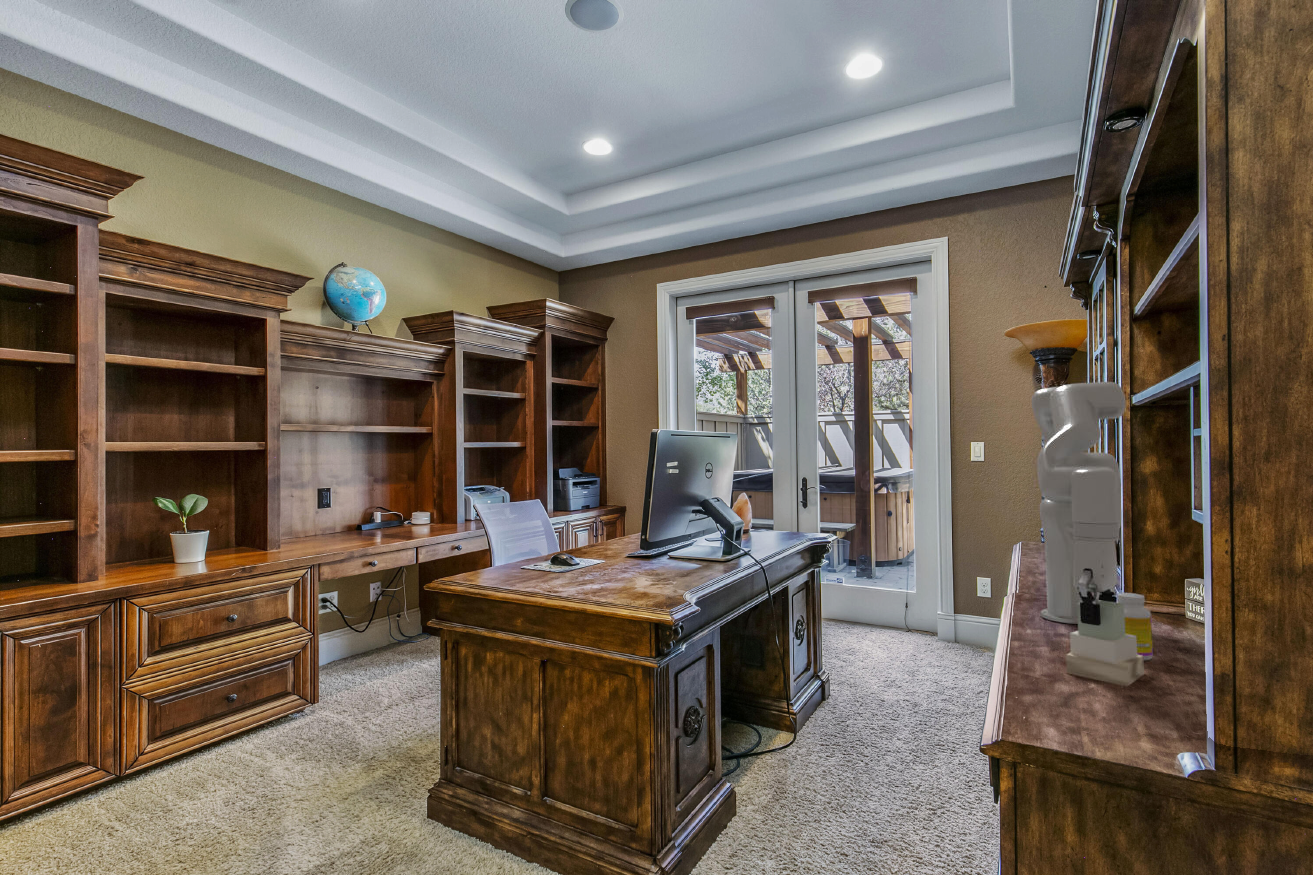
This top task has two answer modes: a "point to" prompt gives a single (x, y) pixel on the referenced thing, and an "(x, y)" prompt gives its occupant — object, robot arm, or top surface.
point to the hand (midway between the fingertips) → (1099, 619)
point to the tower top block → (1104, 647)
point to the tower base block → (1106, 669)
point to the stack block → (1105, 622)
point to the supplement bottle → (1138, 622)
